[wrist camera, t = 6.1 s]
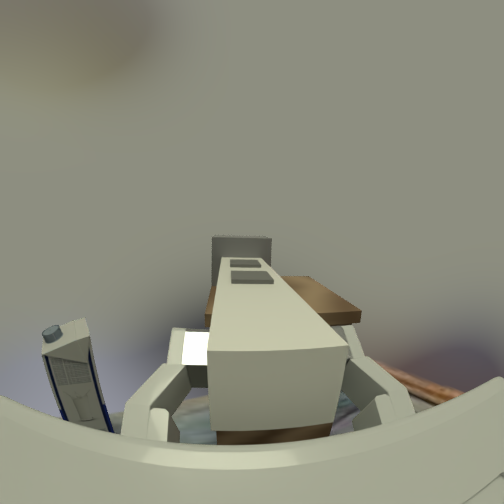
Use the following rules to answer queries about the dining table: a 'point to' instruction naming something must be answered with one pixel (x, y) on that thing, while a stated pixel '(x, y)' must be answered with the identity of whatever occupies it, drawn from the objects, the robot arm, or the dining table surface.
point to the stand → (333, 314)
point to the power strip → (267, 346)
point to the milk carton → (74, 375)
